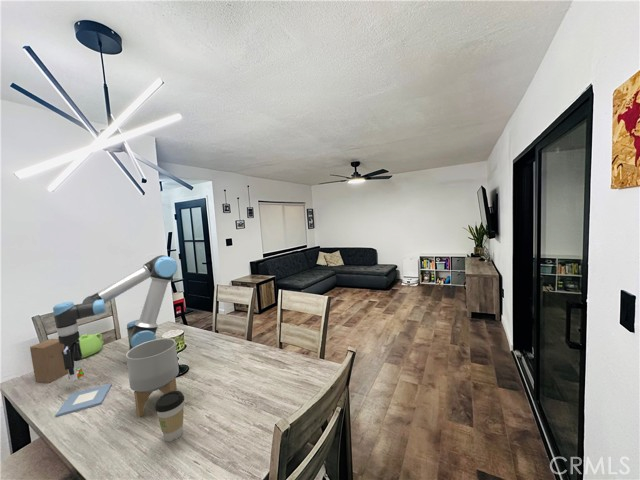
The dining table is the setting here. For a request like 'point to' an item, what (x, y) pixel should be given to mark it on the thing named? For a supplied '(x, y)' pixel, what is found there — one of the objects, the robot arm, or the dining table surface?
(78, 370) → the rubik's cube
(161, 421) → the coffee cup
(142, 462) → the dining table surface
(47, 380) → the wooden block
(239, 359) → the dining table surface
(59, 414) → the plate
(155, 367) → the planter
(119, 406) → the dining table surface
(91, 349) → the teapot
